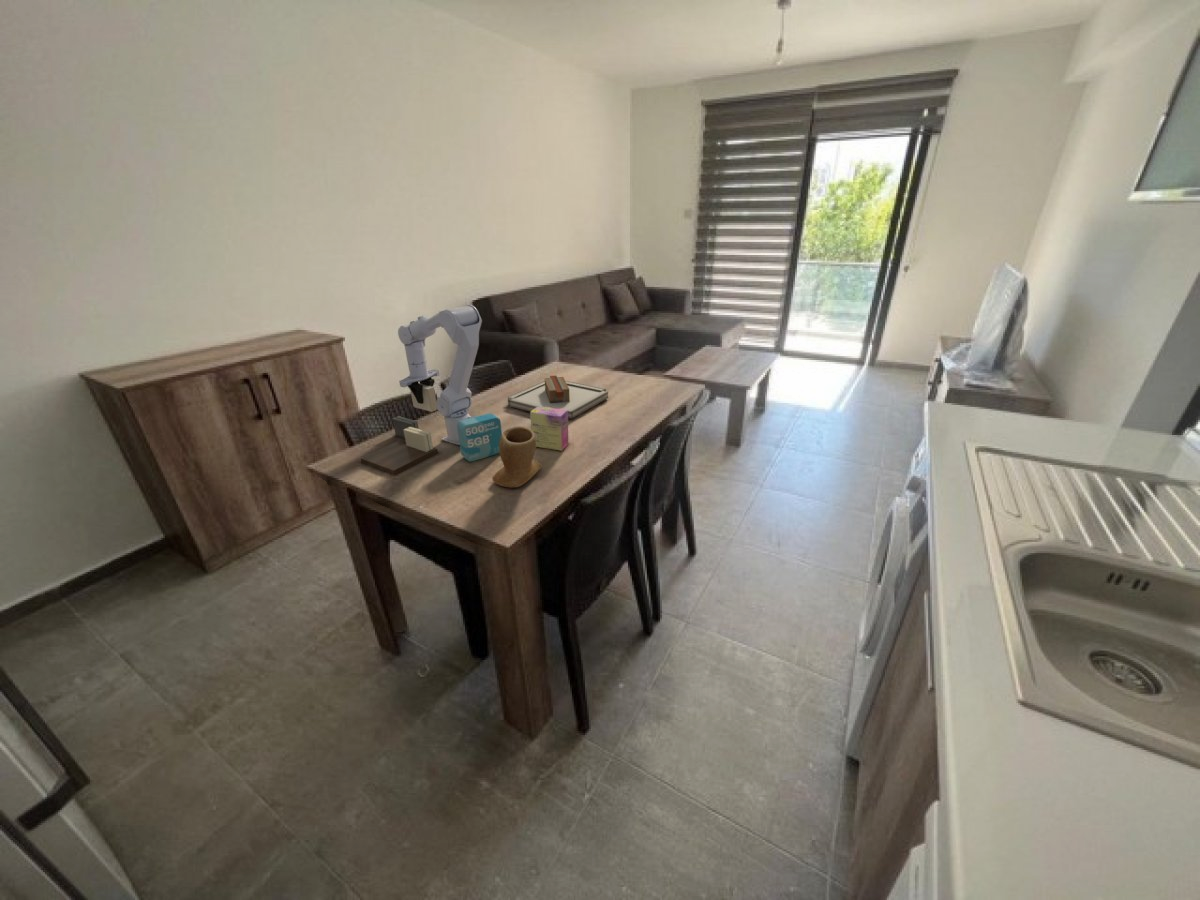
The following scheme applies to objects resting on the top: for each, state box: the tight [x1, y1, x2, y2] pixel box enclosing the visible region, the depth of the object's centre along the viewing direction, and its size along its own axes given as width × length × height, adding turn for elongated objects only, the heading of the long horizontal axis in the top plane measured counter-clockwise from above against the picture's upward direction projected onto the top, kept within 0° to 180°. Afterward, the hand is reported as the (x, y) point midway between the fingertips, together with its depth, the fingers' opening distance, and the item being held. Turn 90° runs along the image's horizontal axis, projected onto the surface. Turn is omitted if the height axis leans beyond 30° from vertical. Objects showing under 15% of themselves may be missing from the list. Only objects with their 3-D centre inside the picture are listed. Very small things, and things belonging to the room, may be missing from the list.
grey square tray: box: [507, 375, 609, 420], centre depth 185 cm, size 30×30×8 cm
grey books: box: [391, 415, 420, 439], centre depth 157 cm, size 9×3×6 cm, turn 59°
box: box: [529, 406, 569, 452], centre depth 150 cm, size 10×6×12 cm, turn 71°
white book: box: [409, 384, 438, 413], centre depth 160 cm, size 9×2×8 cm, turn 59°
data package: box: [457, 412, 503, 463], centre depth 144 cm, size 12×4×12 cm, turn 126°
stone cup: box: [491, 425, 543, 488], centre depth 131 cm, size 15×12×15 cm
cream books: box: [403, 427, 434, 452], centre depth 147 cm, size 9×3×6 cm, turn 59°
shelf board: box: [360, 438, 439, 476], centre depth 145 cm, size 15×16×2 cm
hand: (424, 401), depth 161 cm, fingers closed on white book, 2 cm apart
